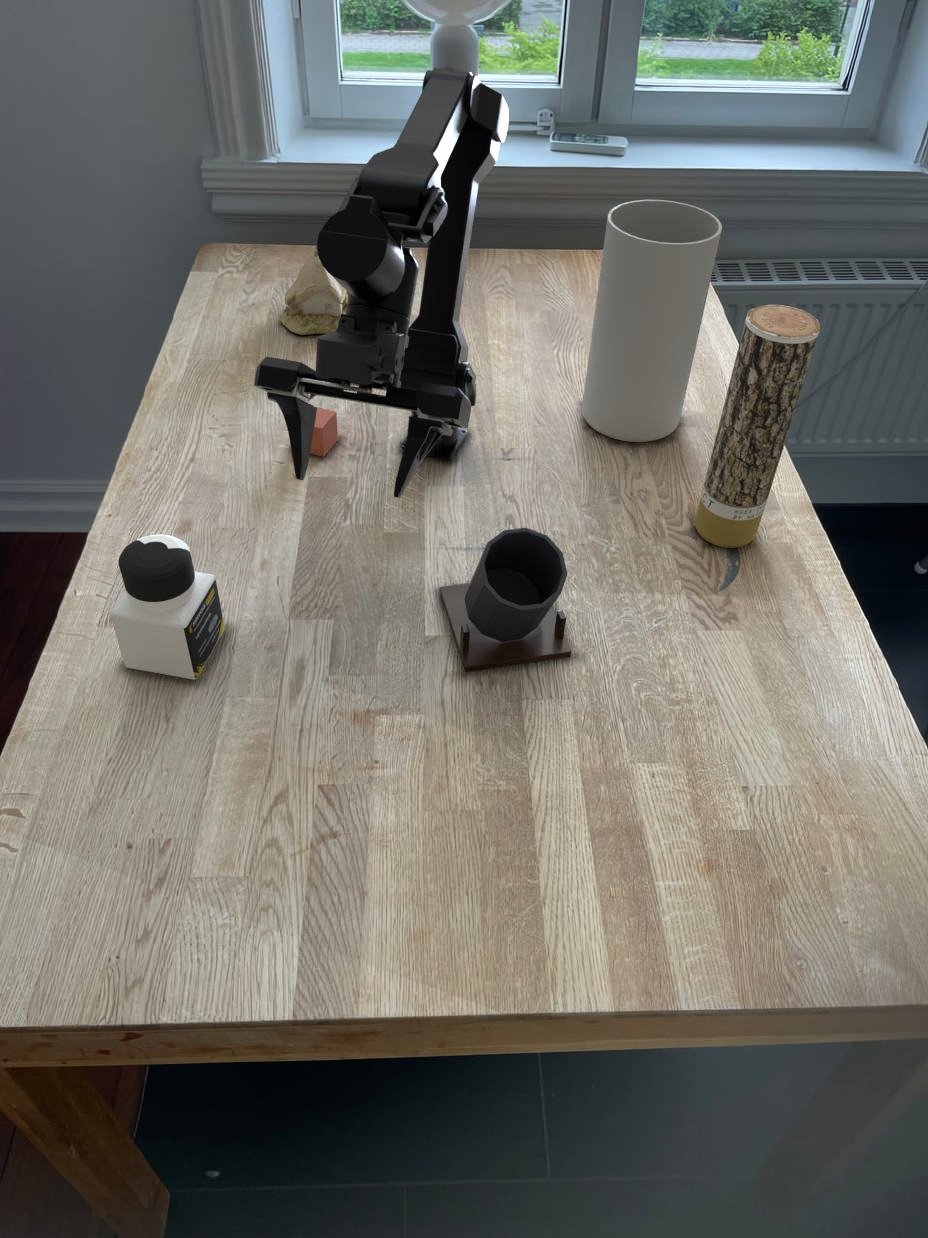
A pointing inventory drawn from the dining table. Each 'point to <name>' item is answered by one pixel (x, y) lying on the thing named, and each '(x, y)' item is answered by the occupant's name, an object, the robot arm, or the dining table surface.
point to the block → (324, 432)
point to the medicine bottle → (166, 609)
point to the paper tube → (755, 422)
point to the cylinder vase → (648, 317)
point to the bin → (515, 584)
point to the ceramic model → (314, 300)
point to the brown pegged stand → (494, 653)
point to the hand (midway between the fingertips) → (347, 488)
